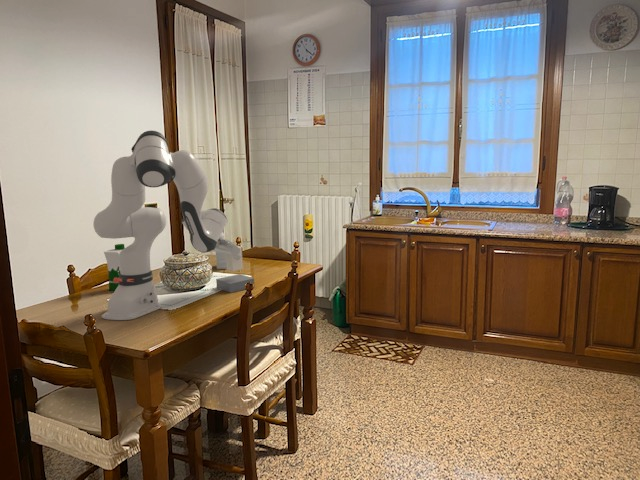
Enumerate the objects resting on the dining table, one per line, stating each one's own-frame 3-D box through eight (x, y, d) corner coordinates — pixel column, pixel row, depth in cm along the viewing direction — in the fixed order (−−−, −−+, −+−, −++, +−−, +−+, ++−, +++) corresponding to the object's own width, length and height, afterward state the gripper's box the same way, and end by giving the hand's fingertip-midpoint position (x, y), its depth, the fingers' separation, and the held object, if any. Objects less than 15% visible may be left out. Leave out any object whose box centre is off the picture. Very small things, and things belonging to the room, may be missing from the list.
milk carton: (135, 287, 228) (131, 244, 225) (121, 292, 220) (116, 247, 216) (120, 286, 231) (115, 243, 228) (105, 291, 223) (100, 247, 219)
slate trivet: (230, 292, 212) (230, 283, 212) (216, 287, 221) (216, 279, 221) (254, 287, 220) (254, 278, 219) (240, 282, 229) (239, 274, 228)
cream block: (233, 271, 215) (231, 248, 214) (227, 269, 219) (225, 247, 217) (243, 269, 218) (241, 246, 217) (237, 267, 222) (235, 245, 221)
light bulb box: (223, 264, 269) (221, 244, 268) (235, 264, 268) (233, 244, 267) (216, 269, 259) (214, 248, 257) (228, 269, 258) (227, 248, 256)
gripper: (230, 234, 204) (252, 254, 211) (206, 230, 219) (228, 248, 227) (221, 246, 202) (243, 266, 209) (198, 241, 217) (220, 260, 225)
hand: (235, 257), depth 218 cm, fingers closed on cream block, 5 cm apart
